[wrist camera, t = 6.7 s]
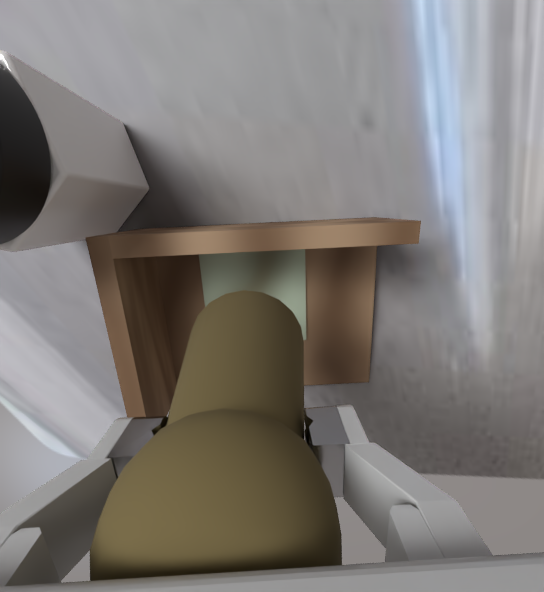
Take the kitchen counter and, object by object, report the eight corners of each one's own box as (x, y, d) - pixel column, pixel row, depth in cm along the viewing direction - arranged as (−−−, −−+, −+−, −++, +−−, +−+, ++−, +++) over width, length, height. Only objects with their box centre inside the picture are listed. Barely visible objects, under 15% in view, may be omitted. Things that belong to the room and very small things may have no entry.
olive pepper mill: (180, 379, 16) (11, 715, 5) (203, 276, 14) (27, 464, 4) (285, 403, 16) (321, 749, 6) (318, 307, 15) (452, 546, 4)
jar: (1, 125, 20) (-369, 8, 8) (110, 85, 19) (-122, -100, 8) (66, 250, 22) (-147, 295, 11) (164, 218, 22) (51, 229, 10)
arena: (374, 217, 22) (420, 220, 15) (365, 376, 26) (399, 433, 20) (139, 228, 22) (85, 237, 15) (167, 387, 26) (134, 447, 19)
